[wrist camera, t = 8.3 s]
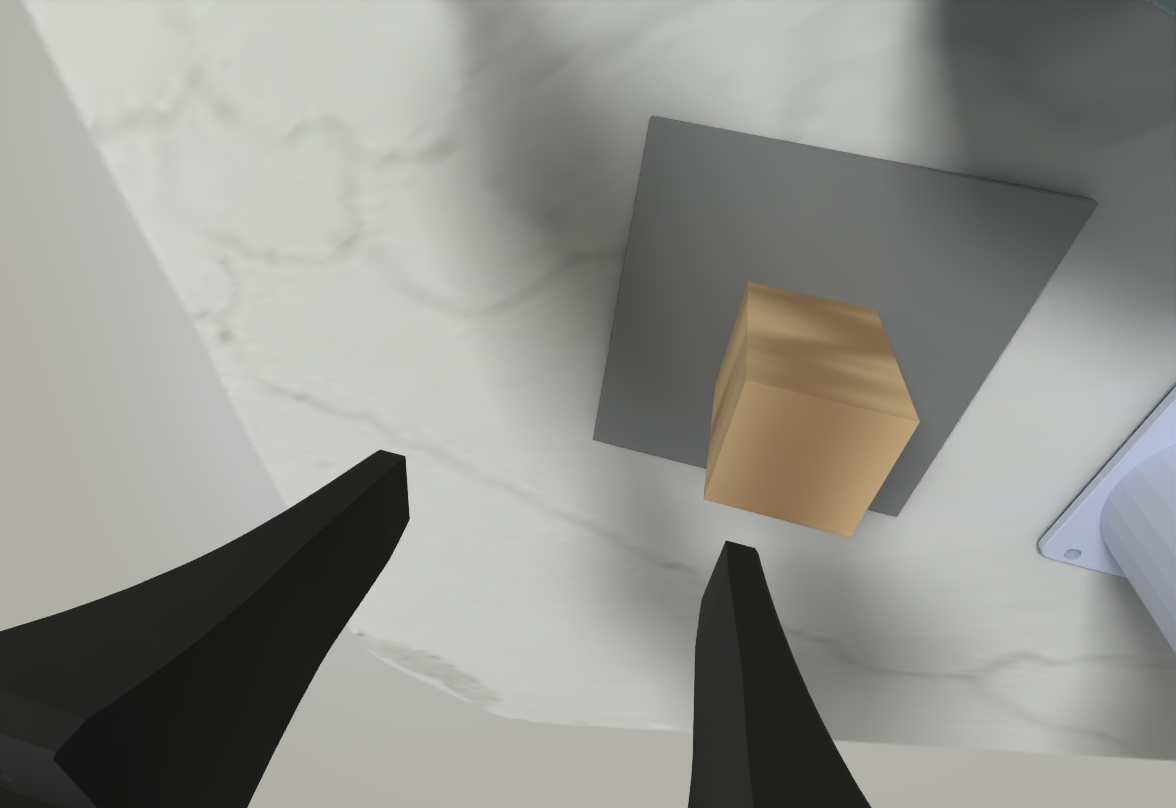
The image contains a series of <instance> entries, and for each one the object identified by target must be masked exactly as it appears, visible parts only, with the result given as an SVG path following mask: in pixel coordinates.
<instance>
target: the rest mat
mask: <svg viewBox="0 0 1176 808" xmlns="http://www.w3.org/2000/svg"><path fill="white" fill-rule="evenodd" d="M1097 204H1098V203H1097V202H1095V201H1094V200H1092V199H1089V198H1084V197H1079V196H1073V195H1068V194H1063V193H1057V192H1052V191H1047V190H1042V189H1036V188H1031V187H1026V186H1020V185H1015V184H1010V183H1005V182H999V181H994V180H989V179H983V178H978V177H973V176H968V175H962V174H957V173H952V172H947V171H941V170H936V169H931V168H925V167H920V166H915V165H910V164H904V163H899V162H894V161H888V160H883V159H878V158H873V157H867V156H862V155H857V154H851V153H846V152H841V151H836V150H830V149H825V148H820V147H814V146H809V145H804V144H799V143H793V142H788V141H783V140H777V139H772V138H767V137H762V136H756V135H751V134H746V133H741V132H735V131H730V130H725V129H719V128H714V127H709V126H704V125H698V124H693V123H688V122H682V121H677V120H672V119H667V118H661V117H656V116H651V117H650V120H649V126H648V132H647V137H646V143H645V149H644V154H643V160H642V165H641V171H640V177H639V182H638V188H637V194H636V199H635V205H634V211H633V216H632V222H631V227H630V233H629V239H628V244H627V250H626V256H625V261H624V267H623V273H622V278H621V284H620V290H619V295H618V301H617V306H616V312H615V318H614V323H613V329H612V335H611V340H610V346H609V352H608V357H607V363H606V368H605V374H604V380H603V385H602V391H601V397H600V402H599V408H598V414H597V419H596V425H595V430H594V436H593V440H595V441H599V442H603V443H607V444H611V445H615V446H619V447H623V448H627V449H631V450H635V451H638V452H642V453H646V454H650V455H654V456H658V457H662V458H666V459H670V460H674V461H678V462H682V463H686V464H690V465H694V466H698V467H702V468H705V469H707V460H708V451H709V441H710V431H711V422H712V412H713V402H714V393H715V384H716V381H717V378H718V375H719V371H720V368H721V365H722V362H723V359H724V356H725V353H726V350H727V347H728V344H729V340H730V337H731V334H732V331H733V328H734V325H735V322H736V319H737V316H738V312H739V309H740V306H741V303H742V300H743V297H744V294H745V291H746V288H747V285H748V281H749V282H753V283H758V284H762V285H767V286H771V287H776V288H780V289H785V290H789V291H794V292H798V293H803V294H807V295H812V296H816V297H821V298H825V299H830V300H834V301H839V302H843V303H848V304H852V305H857V306H861V307H866V308H870V309H875V310H877V312H878V315H879V317H880V320H881V323H882V325H883V328H884V330H885V333H886V336H887V338H888V341H889V343H890V346H891V349H892V351H893V354H894V356H895V359H896V362H897V364H898V367H899V369H900V372H901V375H902V377H903V380H904V382H905V385H906V388H907V390H908V393H909V395H910V398H911V401H912V403H913V406H914V408H915V411H916V414H917V416H918V419H919V421H920V422H919V424H918V426H917V427H916V429H915V431H914V432H913V434H912V436H911V437H910V439H909V441H908V442H907V444H906V446H905V447H904V449H903V451H902V452H901V454H900V456H899V457H898V459H897V461H896V462H895V464H894V466H893V467H892V469H891V471H890V472H889V474H888V476H887V477H886V479H885V481H884V482H883V484H882V486H881V487H880V489H879V491H878V492H877V494H876V496H875V497H874V499H873V501H872V502H871V504H870V506H869V507H868V509H867V510H871V511H875V512H879V513H883V514H887V515H891V516H895V517H897V515H898V514H899V512H900V511H901V509H902V508H903V506H904V505H905V503H906V501H907V500H908V498H909V497H910V495H911V494H912V492H913V491H914V489H915V487H916V486H917V484H918V483H919V481H920V480H921V478H922V477H923V475H924V473H925V472H926V470H927V469H928V467H929V466H930V464H931V463H932V461H933V459H934V458H935V456H936V455H937V453H938V452H939V450H940V449H941V447H942V445H943V444H944V442H945V441H946V439H947V438H948V436H949V435H950V433H951V431H952V430H953V428H954V427H955V425H956V424H957V422H958V421H959V419H960V417H961V416H962V414H963V413H964V411H965V410H966V408H967V407H968V405H969V403H970V402H971V400H972V399H973V397H974V396H975V394H976V392H977V391H978V389H979V388H980V386H981V385H982V383H983V382H984V380H985V378H986V377H987V375H988V374H989V372H990V371H991V369H992V368H993V366H994V364H995V363H996V361H997V360H998V358H999V357H1000V355H1001V354H1002V352H1003V350H1004V349H1005V347H1006V346H1007V344H1008V343H1009V341H1010V340H1011V338H1012V336H1013V335H1014V333H1015V332H1016V330H1017V329H1018V327H1019V326H1020V324H1021V322H1022V321H1023V319H1024V318H1025V316H1026V315H1027V313H1028V312H1029V310H1030V308H1031V307H1032V305H1033V304H1034V302H1035V301H1036V299H1037V298H1038V296H1039V294H1040V293H1041V291H1042V290H1043V288H1044V287H1045V285H1046V283H1047V282H1048V280H1049V279H1050V277H1051V276H1052V274H1053V273H1054V271H1055V269H1056V268H1057V266H1058V265H1059V263H1060V262H1061V260H1062V259H1063V257H1064V255H1065V254H1066V252H1067V251H1068V249H1069V248H1070V246H1071V245H1072V243H1073V241H1074V240H1075V238H1076V237H1077V235H1078V234H1079V232H1080V231H1081V229H1082V227H1083V226H1084V224H1085V223H1086V221H1087V220H1088V218H1089V217H1090V215H1091V213H1092V212H1093V210H1094V209H1095V207H1096V206H1097Z"/></svg>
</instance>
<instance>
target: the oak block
mask: <svg viewBox="0 0 1176 808" xmlns="http://www.w3.org/2000/svg"><path fill="white" fill-rule="evenodd" d="M919 422H920V421H919V419H918V416H917V414H916V411H915V408H914V406H913V403H912V401H911V398H910V395H909V393H908V390H907V388H906V385H905V382H904V380H903V377H902V375H901V372H900V369H899V367H898V364H897V362H896V359H895V356H894V354H893V351H892V349H891V346H890V343H889V341H888V338H887V336H886V333H885V330H884V328H883V325H882V323H881V320H880V317H879V315H878V312H877V310H875V309H870V308H866V307H861V306H857V305H852V304H848V303H843V302H839V301H834V300H830V299H825V298H821V297H816V296H812V295H807V294H803V293H798V292H794V291H789V290H785V289H780V288H776V287H771V286H767V285H762V284H758V283H753V282H749V281H748V285H747V288H746V291H745V294H744V297H743V300H742V303H741V306H740V309H739V312H738V316H737V319H736V322H735V325H734V328H733V331H732V334H731V337H730V340H729V344H728V347H727V350H726V353H725V356H724V359H723V362H722V365H721V368H720V371H719V375H718V378H717V381H716V384H715V393H714V402H713V412H712V422H711V431H710V441H709V451H708V460H707V470H706V479H705V489H704V499H705V500H709V501H713V502H716V503H720V504H724V505H728V506H732V507H735V508H739V509H743V510H747V511H751V512H754V513H758V514H762V515H766V516H769V517H773V518H777V519H781V520H785V521H788V522H792V523H796V524H800V525H804V526H807V527H811V528H815V529H819V530H823V531H826V532H830V533H834V534H838V535H842V536H845V537H849V538H850V537H851V535H852V534H853V532H854V530H855V529H856V527H857V525H858V524H859V522H860V521H861V519H862V517H863V516H864V514H865V512H866V511H867V509H868V507H869V506H870V504H871V502H872V501H873V499H874V497H875V496H876V494H877V492H878V491H879V489H880V487H881V486H882V484H883V482H884V481H885V479H886V477H887V476H888V474H889V472H890V471H891V469H892V467H893V466H894V464H895V462H896V461H897V459H898V457H899V456H900V454H901V452H902V451H903V449H904V447H905V446H906V444H907V442H908V441H909V439H910V437H911V436H912V434H913V432H914V431H915V429H916V427H917V426H918V424H919Z"/></svg>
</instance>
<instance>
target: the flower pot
mask: <svg viewBox="0 0 1176 808" xmlns="http://www.w3.org/2000/svg"><path fill="white" fill-rule="evenodd" d="M1146 1H1147V2H1149V3H1151V4H1152V5H1154V6H1156V7H1157V8H1159V9H1161V10H1163V11H1164V12H1166V13H1168V14H1169V15H1171V16H1173V17H1174V18H1176V0H1146Z"/></svg>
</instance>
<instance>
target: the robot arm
mask: <svg viewBox="0 0 1176 808" xmlns="http://www.w3.org/2000/svg"><path fill="white" fill-rule="evenodd" d="M409 519H410V518H409V503H408V488H407V473H406V459H405V456H402V455H398V454H395V453H391V452H387V451H383V450H379V451H377V452H375V453H374V454H372V455H371V456H369V457H368V458H366V459H365V460H363V461H362V462H360V463H359V464H357V465H356V466H354V467H353V468H351V469H350V470H348V471H347V472H345V473H344V474H342V475H341V476H339V477H338V478H336V479H335V480H333V481H331V482H330V483H328V484H327V485H325V486H324V487H322V488H321V489H319V490H318V491H316V492H315V493H313V494H311V495H310V496H308V497H307V498H305V499H304V500H302V501H300V502H299V503H297V504H296V505H294V506H292V507H291V508H289V509H288V510H286V511H284V512H283V513H281V514H279V515H278V516H276V517H274V518H272V519H271V520H269V521H267V522H266V523H264V524H262V525H260V526H258V527H257V528H255V529H254V530H252V531H250V532H248V533H246V534H244V535H243V536H241V537H239V538H237V539H235V540H233V541H231V542H230V543H228V544H226V545H224V546H222V547H220V548H218V549H216V550H214V551H212V552H210V553H208V554H206V555H203V556H202V557H199V558H197V559H195V560H193V561H191V562H189V563H187V564H185V565H182V566H180V567H178V568H175V569H173V570H170V571H168V572H166V573H163V574H161V575H158V576H156V577H154V578H151V579H149V580H147V581H144V582H142V583H140V584H137V585H135V586H133V587H130V588H128V589H125V590H122V591H120V592H117V593H114V594H112V595H109V596H107V597H104V598H101V599H98V600H96V601H93V602H90V603H87V604H84V605H81V606H78V607H76V608H73V609H70V610H67V611H64V612H61V613H58V614H55V615H52V616H49V617H46V618H42V619H39V620H36V621H33V622H30V623H26V624H23V625H20V626H16V627H13V628H10V629H6V630H3V631H0V808H247V807H248V805H249V803H250V801H251V799H252V796H253V794H254V792H255V790H256V788H257V786H258V784H259V782H260V780H261V778H262V776H263V774H264V772H265V770H266V768H267V766H268V764H269V761H270V759H271V757H272V755H273V753H274V751H275V749H276V747H277V745H278V743H279V741H280V739H281V738H282V736H283V733H284V731H285V730H286V728H287V726H288V724H289V722H290V720H291V718H292V716H293V714H294V712H295V710H296V708H297V706H298V705H299V703H300V701H301V699H302V697H303V695H304V694H305V692H306V690H307V688H308V686H309V684H310V682H311V681H312V679H313V677H314V675H315V673H316V671H317V670H318V667H319V666H320V664H321V662H322V661H323V659H324V658H325V656H326V654H327V653H328V651H329V649H330V648H331V646H332V645H333V643H334V642H335V640H336V639H337V637H338V636H339V634H340V633H341V631H342V630H343V628H344V627H345V625H346V624H347V622H348V621H349V619H350V618H351V616H352V615H353V613H354V612H355V610H356V609H357V607H358V606H359V604H360V603H361V602H362V600H363V599H364V597H365V596H366V594H367V593H368V591H369V590H370V588H371V587H372V585H373V584H374V582H375V581H376V579H377V578H378V576H379V575H380V573H381V572H382V570H383V569H384V567H385V565H386V564H387V562H388V561H389V559H390V557H391V555H392V554H393V552H394V550H395V548H396V546H397V544H398V542H399V540H400V538H401V536H402V534H403V532H404V530H405V528H406V526H407V524H408V522H409ZM1038 546H1039V549H1040V551H1041V553H1042V554H1043V555H1044V556H1045V557H1047V558H1049V559H1053V560H1057V561H1061V562H1065V563H1069V564H1073V565H1077V566H1081V567H1085V568H1089V569H1093V570H1097V571H1101V572H1104V573H1108V574H1112V575H1116V576H1120V577H1124V578H1127V579H1128V580H1129V582H1130V583H1131V585H1132V586H1133V588H1134V590H1135V591H1136V593H1137V594H1138V596H1139V597H1140V599H1141V601H1142V602H1143V604H1144V605H1145V607H1146V608H1147V610H1148V612H1149V613H1150V615H1151V616H1152V618H1153V619H1154V621H1155V623H1156V624H1157V626H1158V627H1159V629H1160V630H1161V632H1162V634H1163V635H1164V637H1165V638H1166V640H1167V641H1168V643H1169V645H1170V646H1171V648H1172V649H1173V651H1174V652H1175V654H1176V387H1175V388H1174V389H1173V390H1172V391H1171V392H1170V393H1169V394H1168V396H1167V397H1166V398H1165V399H1164V400H1163V401H1162V402H1161V404H1160V405H1159V406H1158V407H1157V408H1156V409H1155V410H1154V411H1153V413H1152V414H1151V415H1150V416H1149V417H1148V418H1147V419H1146V421H1145V422H1144V423H1143V424H1142V425H1141V426H1140V427H1139V428H1138V430H1137V431H1136V432H1135V433H1134V434H1133V435H1132V436H1131V438H1130V439H1129V440H1128V441H1127V442H1126V443H1125V444H1124V445H1123V447H1122V448H1121V449H1120V450H1119V451H1118V452H1117V453H1116V455H1115V456H1114V457H1113V458H1112V459H1111V460H1110V461H1109V462H1108V464H1107V465H1106V466H1105V467H1104V468H1103V469H1102V470H1101V472H1100V473H1099V474H1098V475H1097V476H1096V477H1095V478H1094V479H1093V481H1092V482H1091V483H1090V484H1089V485H1088V486H1087V487H1086V489H1085V490H1084V491H1083V492H1082V493H1081V494H1080V495H1079V496H1078V498H1077V499H1076V500H1075V501H1074V502H1073V503H1072V504H1071V506H1070V507H1069V508H1068V509H1067V510H1066V511H1065V512H1064V513H1063V515H1062V516H1061V517H1060V518H1059V519H1058V520H1057V521H1056V523H1055V524H1054V525H1053V526H1052V527H1051V528H1050V529H1049V530H1048V532H1047V533H1046V534H1045V535H1044V536H1043V537H1042V538H1041V540H1040V541H1039V543H1038ZM1072 549H1074V550H1072ZM1068 550H1071V551H1068ZM688 808H871V806H870V805H869V803H868V802H867V800H866V798H865V797H864V795H863V793H862V792H861V790H860V789H859V787H858V785H857V784H856V782H855V780H854V779H853V777H852V775H851V773H850V771H849V770H848V768H847V766H846V764H845V763H844V761H843V759H842V757H841V755H840V754H839V752H838V750H837V748H836V746H835V744H834V742H833V740H832V739H831V737H830V735H829V733H828V731H827V729H826V727H825V725H824V723H823V721H822V719H821V717H820V715H819V713H818V711H817V709H816V707H815V705H814V703H813V701H812V698H811V696H810V694H809V692H808V690H807V687H806V685H805V683H804V681H803V678H802V676H801V674H800V672H799V669H798V667H797V665H796V662H795V660H794V657H793V655H792V653H791V650H790V647H789V645H788V642H787V640H786V637H785V634H784V632H783V629H782V627H781V624H780V621H779V619H778V616H777V613H776V610H775V607H774V604H773V601H772V598H771V595H770V592H769V589H768V586H767V583H766V579H765V576H764V573H763V569H762V566H761V562H760V558H759V554H758V552H757V551H756V549H755V548H752V547H748V546H745V545H741V544H737V543H733V542H729V541H726V542H725V544H724V546H723V549H722V551H721V554H720V556H719V559H718V561H717V563H716V566H715V568H714V571H713V573H712V576H711V578H710V580H709V583H708V585H707V588H706V590H705V593H704V595H703V597H702V601H701V608H700V615H699V622H698V630H697V638H696V645H695V680H694V726H693V760H692V777H691V785H690V794H689V803H688Z"/></svg>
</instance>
